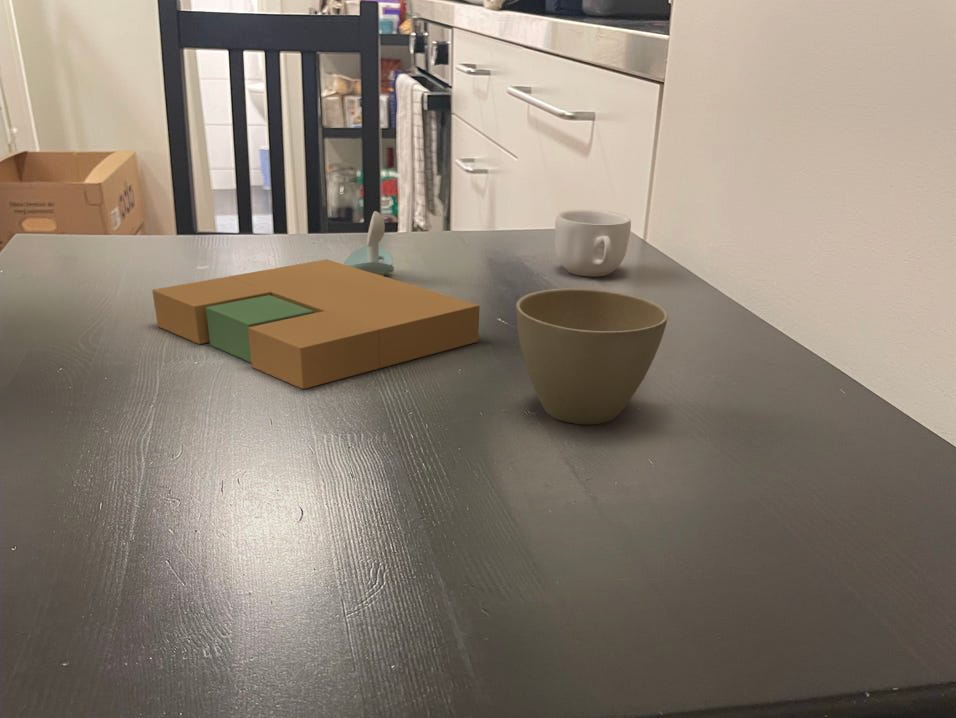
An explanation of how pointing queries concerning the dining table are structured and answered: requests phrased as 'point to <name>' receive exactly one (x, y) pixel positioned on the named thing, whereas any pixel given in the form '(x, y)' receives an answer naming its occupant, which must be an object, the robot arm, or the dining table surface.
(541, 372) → the bowl
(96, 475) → the dining table surface
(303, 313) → the green block
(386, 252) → the pacifier
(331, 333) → the brown notched block
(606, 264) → the teacup
